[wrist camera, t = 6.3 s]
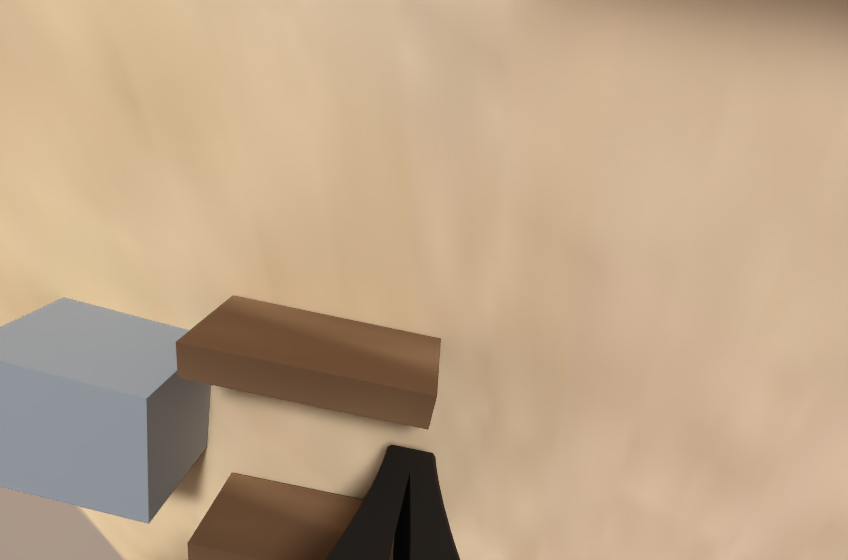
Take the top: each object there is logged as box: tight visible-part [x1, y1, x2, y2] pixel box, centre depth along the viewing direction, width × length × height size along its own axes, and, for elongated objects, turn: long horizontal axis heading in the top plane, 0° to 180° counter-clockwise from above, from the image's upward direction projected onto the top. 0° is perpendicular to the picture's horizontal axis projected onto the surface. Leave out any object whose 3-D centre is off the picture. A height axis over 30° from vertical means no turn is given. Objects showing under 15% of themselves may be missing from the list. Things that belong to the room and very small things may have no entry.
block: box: [0, 297, 211, 524], centre depth 12 cm, size 4×4×3 cm
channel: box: [176, 296, 441, 560], centre depth 12 cm, size 8×6×2 cm
